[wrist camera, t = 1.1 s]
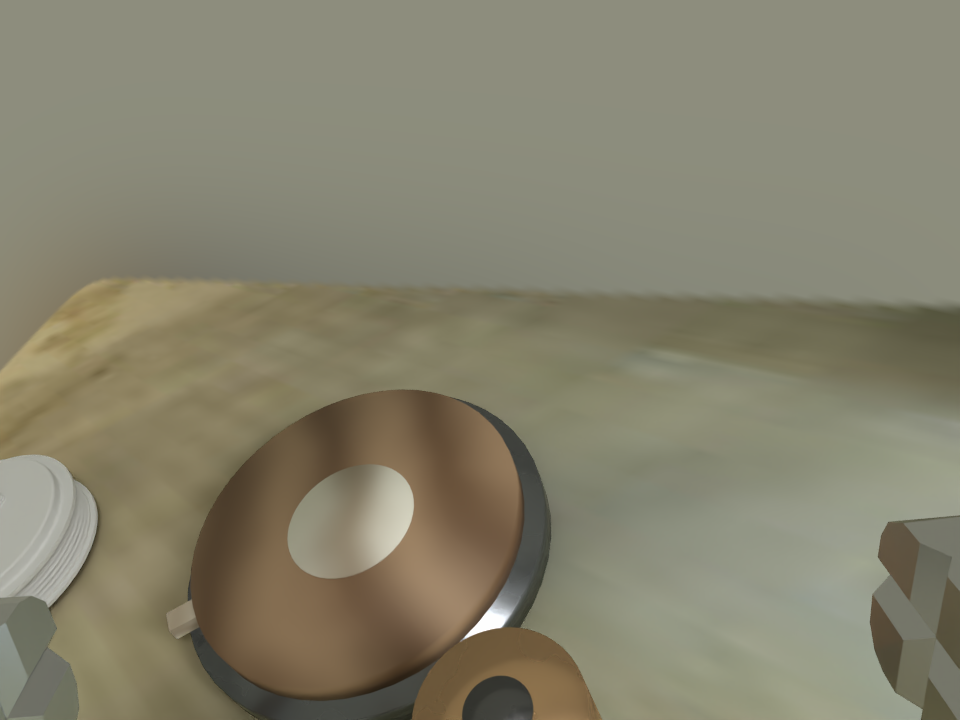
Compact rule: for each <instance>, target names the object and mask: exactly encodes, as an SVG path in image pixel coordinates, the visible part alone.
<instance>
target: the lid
mask: <svg viewBox="0 0 960 720" xmlns="http://www.w3.org/2000/svg"><path fill="white" fill-rule="evenodd" d="M97 522H98V512H97V506H96V502H95V500H94V497H93V496H92V494H91V493H90V491H89V490H88V489H87V488H86V487H85V486H84V485H82V484H81V483H80V482H78V481H75V480H73V477H72V475H71V473H70V472H69V471H68V469H67V468H66V467H65V466H64V465H63V464H62V463H61V462H59V461H57V460H56V459H54V458H51V457H48V456H43V455H23V456H17V457H12V458H9V459H4V460H0V598H5V597H21V596H34V597H36V598H38V599H41V600H43V601H45V602H46V604H47V606H48V608H49V607H50V606H51V605H52V604H53V603H54V602H55V601H56V600H57V599H58V598H59V596H60V595H61V594H62V593H63V592H64V591H65V589H66V588H67V587H68V586H69V584H70V583H71V582H72V580H73V579H74V577H75V576H76V575H77V573H78V572H79V570H80V568H81V567H82V565H83V563H84V561H85V560H86V558H87V555H88V553H89V551H90V549H91V547H92V544H93V541H94V537H95V534H96V529H97Z"/></svg>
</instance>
